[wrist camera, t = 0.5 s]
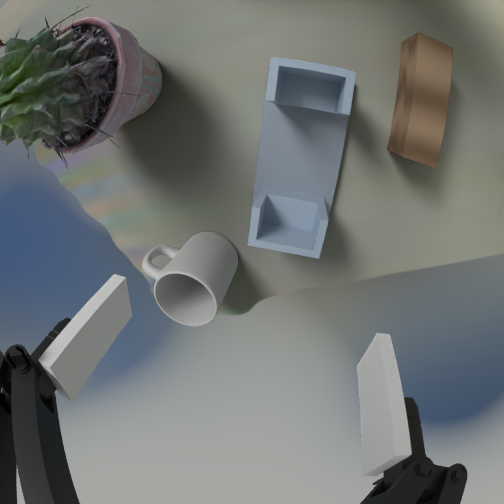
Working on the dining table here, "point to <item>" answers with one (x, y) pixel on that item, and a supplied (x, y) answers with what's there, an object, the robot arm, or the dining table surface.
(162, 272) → the mug
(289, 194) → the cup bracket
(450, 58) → the tapered block
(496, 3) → the dining table surface
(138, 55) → the potted plant
